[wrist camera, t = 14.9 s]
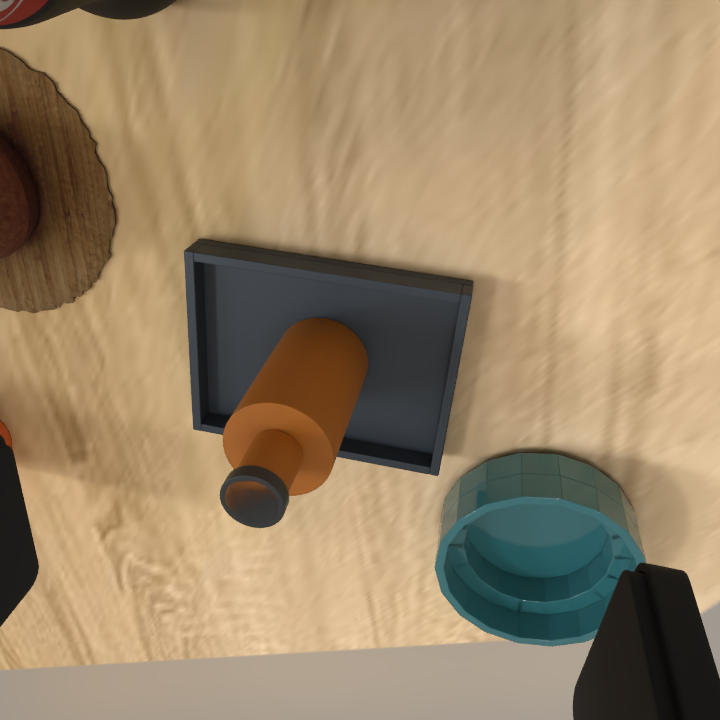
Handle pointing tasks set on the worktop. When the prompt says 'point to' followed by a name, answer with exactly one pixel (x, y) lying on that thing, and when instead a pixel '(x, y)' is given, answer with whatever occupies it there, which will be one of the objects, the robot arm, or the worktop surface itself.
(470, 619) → the bowl
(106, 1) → the cola bottle
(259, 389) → the bottle
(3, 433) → the paper cup
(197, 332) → the tray
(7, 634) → the worktop surface
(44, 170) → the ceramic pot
